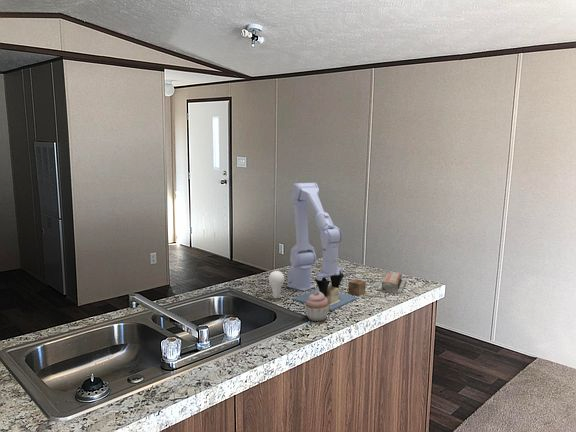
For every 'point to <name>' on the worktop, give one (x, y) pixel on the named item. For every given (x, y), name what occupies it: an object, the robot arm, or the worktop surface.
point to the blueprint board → (342, 301)
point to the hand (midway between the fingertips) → (329, 294)
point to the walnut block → (356, 287)
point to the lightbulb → (276, 283)
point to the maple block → (332, 294)
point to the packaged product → (392, 283)
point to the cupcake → (317, 306)
